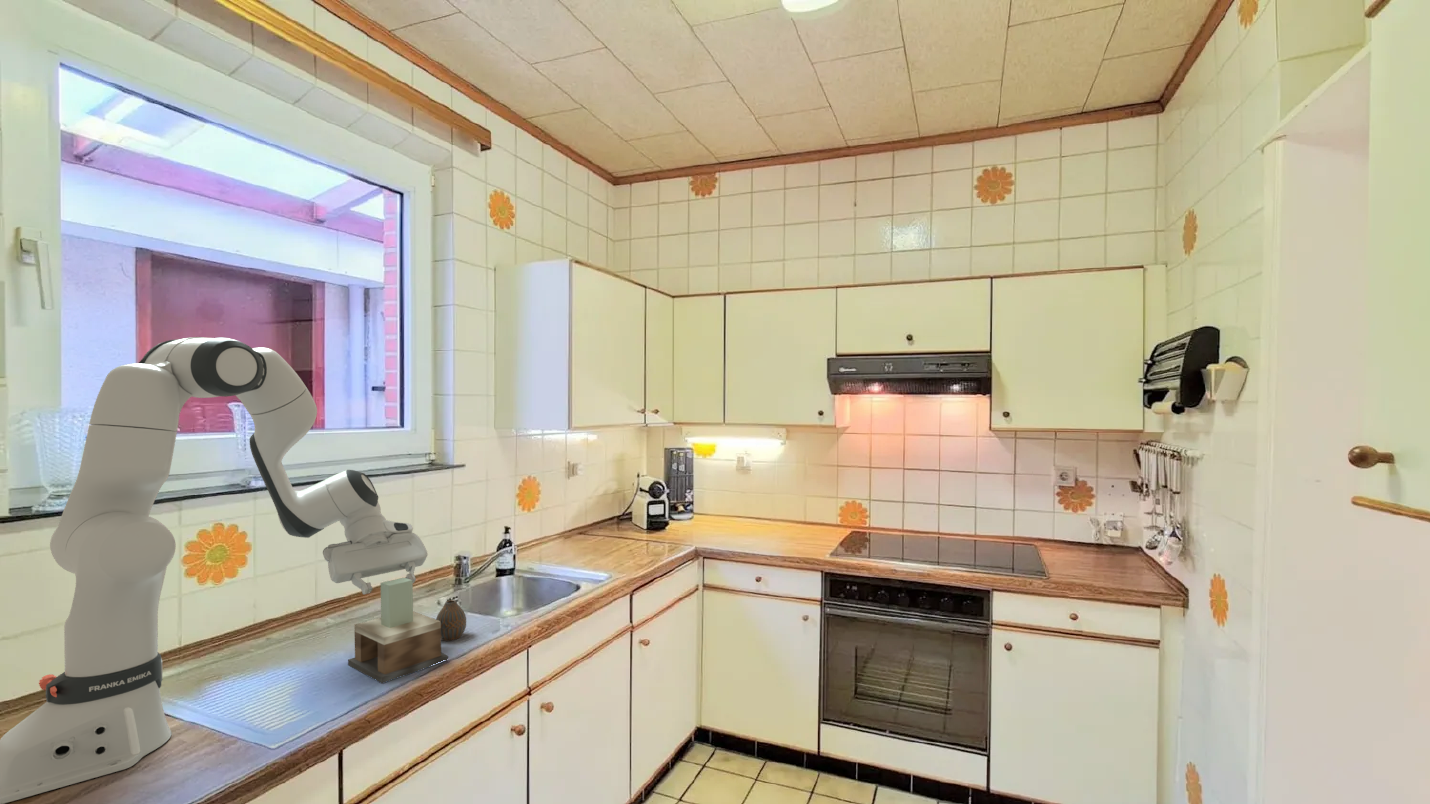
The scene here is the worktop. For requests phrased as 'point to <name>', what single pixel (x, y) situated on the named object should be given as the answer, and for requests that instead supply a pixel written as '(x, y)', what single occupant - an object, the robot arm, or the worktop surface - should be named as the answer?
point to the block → (396, 602)
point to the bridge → (396, 647)
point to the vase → (451, 621)
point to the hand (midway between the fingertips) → (390, 587)
